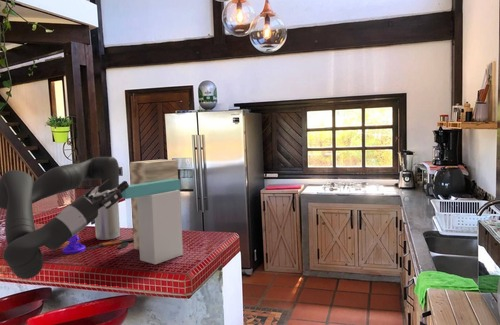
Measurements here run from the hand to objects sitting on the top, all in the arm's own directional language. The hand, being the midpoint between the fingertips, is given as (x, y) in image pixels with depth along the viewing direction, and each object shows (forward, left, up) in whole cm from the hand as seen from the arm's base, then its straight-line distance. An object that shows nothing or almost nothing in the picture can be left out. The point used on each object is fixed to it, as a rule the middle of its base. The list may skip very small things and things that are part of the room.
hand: (118, 182), depth 122 cm
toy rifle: (-25, +17, -28) cm, 41 cm away
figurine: (-34, +2, -28) cm, 44 cm away
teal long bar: (0, +12, -5) cm, 13 cm away
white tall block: (0, +15, -28) cm, 32 cm away
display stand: (-12, +23, -28) cm, 38 cm away
